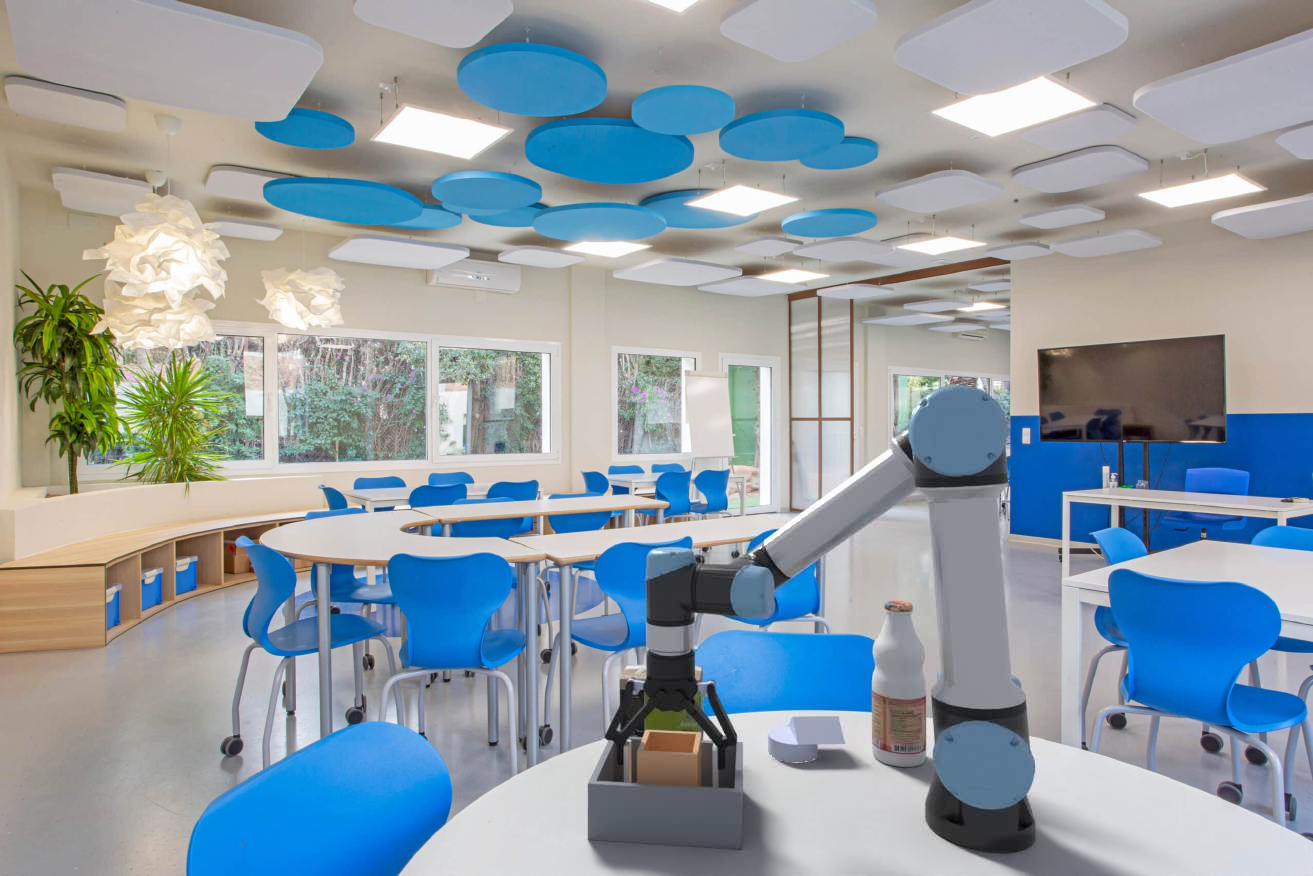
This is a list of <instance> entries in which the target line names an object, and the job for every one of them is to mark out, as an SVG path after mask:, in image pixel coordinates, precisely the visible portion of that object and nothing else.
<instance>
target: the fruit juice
mask: <svg viewBox="0 0 1313 876" xmlns="http://www.w3.org/2000/svg"><path fill="white" fill-rule="evenodd" d="M913 611H914V607H913V603H911V602H907V601H901V600H889V601H885V602H884V612H885V618H884V622H883V625H882V627H881V631H880V632H879V633H878V636H877V637H876V639H874V642H873V645H872V656H873V660H874V665H875V667H874V670H873V673H872V679H871V751H872V754H873V756H874V758H875V759H876V760H878V761H880V762H881V763H883V764H886V765H889V766H892V767H899V768H912V767H918V766H921V765H923V764H924V763H925V762H926V757H927V683H926V682H927V681H926V677H925V675H924V671H923V668H924V664H925V660H926V651H925V650H926V649H925V647H924V645H923V643H922V641H921V640H920V638H919V637H918V635H917V632H916V628H915V627H914V623H913V620H912V614H913Z"/></svg>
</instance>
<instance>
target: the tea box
mask: <svg viewBox="0 0 1313 876" xmlns="http://www.w3.org/2000/svg"><path fill="white" fill-rule="evenodd" d="M703 675H704V672H703V665H699V664H695V678H696V681H697V683H702V682H704V676H703ZM630 677H634V678H635V679H636V680H640V681H645V680H646V664H629V663H627V664H626V666H625V668H624V670H623V672H622V673H621V675H620V677H619V705H620V704H621V702H622V700H623V698H624V696H625V688H626V683H627V681H628V679H629V678H630ZM648 699H649V697H648V696H647V694H646V693H645V692H644V689H641V690H640V691H639V693H638V694H637V695H633V697H632V700H631V702H630V704H629V706H628V708H627V710H626V712H625V714H624V716H623V718H622V720H621V722H620V724H619V732H621V731H622V730H623V729H624V728H625V727H626V725H627V724H628V723H629V722H630V721H631V719H632V718H633V717H634V716H635V715H636V714H637V712H638V711H639V710H640V709H641V708H642V707H643V705H644V704H645V703H646V702H647V700H648ZM694 699H695V700H696V702H697V703H698V705H699V707H700V708H701V709H702V710H703V711H704V696H703V694H702V692H700V691H698V692H697V694H696V695H695V696H694ZM645 730H663V731H684V732H701V740H704V738H705V737H704V733H705V732H704V730H703V729H702V728H701V727H700V726H699V724H698V723H697V722H696V721H695V720H694V718H693V717H692V716H690V715H689V714H688V712H687V711H686V710H685V709H684V710H682V711H680V712H674V711H671V710H670V711H665V712H663V711H660V710H659V709H657V708H656V707H655V708H654V710H653V711H652V712H651V713H650V714H649V715H648V716H647V717H646V718H645V719H644V721H643V722H642V723H641V724H640V725H639V726H638V727H637V729H636V730H635V731H634V732H633V733H632V734H631V736H630V737H643V735H644V732H645Z"/></svg>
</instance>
